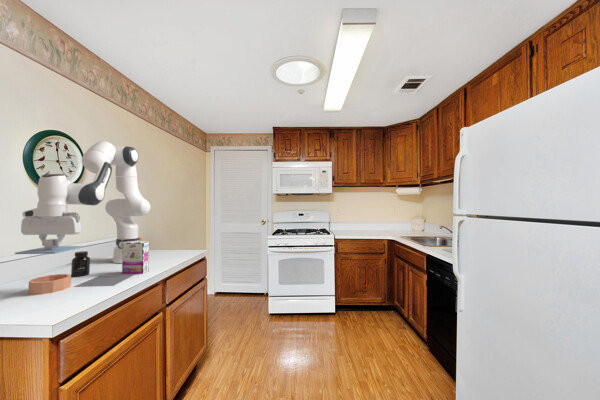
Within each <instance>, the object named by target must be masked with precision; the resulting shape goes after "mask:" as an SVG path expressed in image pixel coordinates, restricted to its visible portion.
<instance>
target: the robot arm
mask: <svg viewBox="0 0 600 400" xmlns="http://www.w3.org/2000/svg"><path fill="white" fill-rule="evenodd" d="M138 161H139V152H138V150H136V149H135V147H132V146H122V145H113V143H111V142H109V141H107V140H106V141H105V140H99V141H98V142H96V143H93V145H91V146H90V147H89V148H88V149H87V150H86V151H85V152H84V153H83V155H82V157H81V164H82V166H83V167H84V168H85V169H86V170H87V171H89V172H90V173H92V174H95V176H94V179H93V180H92V181H91V182H87V183H75V182H72V181H70V180H69V179H67V176H66V174H62V173H46V174H42V175H41V176H40V177H39V179H38V183H37V197H38V202H37V204H36V205H37V207H35V208H32V209H29V210H26V211H25V210H24V211H23V212H22V213H21V214H22V217H23V218H22V219H21V225H20V232H21V234H23V235H22V236H29V235H30V236H32V235H33V236H38V238H39V240H40V241H41V243H42V244H41V247H44V240H48V238H47V237H48V236H50V235H52V236H53V235H56V239H57V241H54V245H55V246H62V241H63V240H64V239H65V237H66V236H68V235H79V234H80V233H81V232H82V225H81V224H82V223H81V215H79V213H77V212H68V205H79V206H80V205H83V206H97V205H99V204H100V203H101V202H103V200H104V199H105V195H106V188H107V187H108V185H109V184H108V183H109V181H110V179H111V176H112V173H113V168H112V166H115V188H116V190H117V191H118V192H119V193H121V194H123V196H124V197H125V198H115V199H110V200H108V201H107V202H106V204H105V206H104V210H105V212H106V213H107V215H110V217H112V219H113V221H114V223H115V225H116V226H115V227H116V239H115V245H116V246H115V247H114V249H113V255H112V259H110V262H112V263H114V264H122V253H123V242H128V241H142V239H143V237H139V233H140V232H139V225H138V223H136V222H134V221H133V219H132V218H131V217H141V216H142V217H143V216H146V215H148V214H149V213H150V212H151V209H152V208H151V204H150V202H149V201H148V200H147V199H146V198H144V196H143V195H142V194H141V191H140V189H139V182H138V181H139V180H138V172H137V166H136V164H137V163H138ZM149 257H150V254H149Z"/></svg>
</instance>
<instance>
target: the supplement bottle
mask: <svg viewBox="0 0 600 400" xmlns="http://www.w3.org/2000/svg"><path fill="white" fill-rule="evenodd" d="M88 253H89V252H88V250H87V251H86V250H85V251H84V250H82V251H75V252H74V257H73V258H72V259H71V265H70V266H71V269H70V271H71V272H70V273H71V274H70V275H71V278H82V277H86V276H89V275H90V272H91V271H90V269H91V268H90V266H91V258H90V256H89V254H88Z"/></svg>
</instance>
